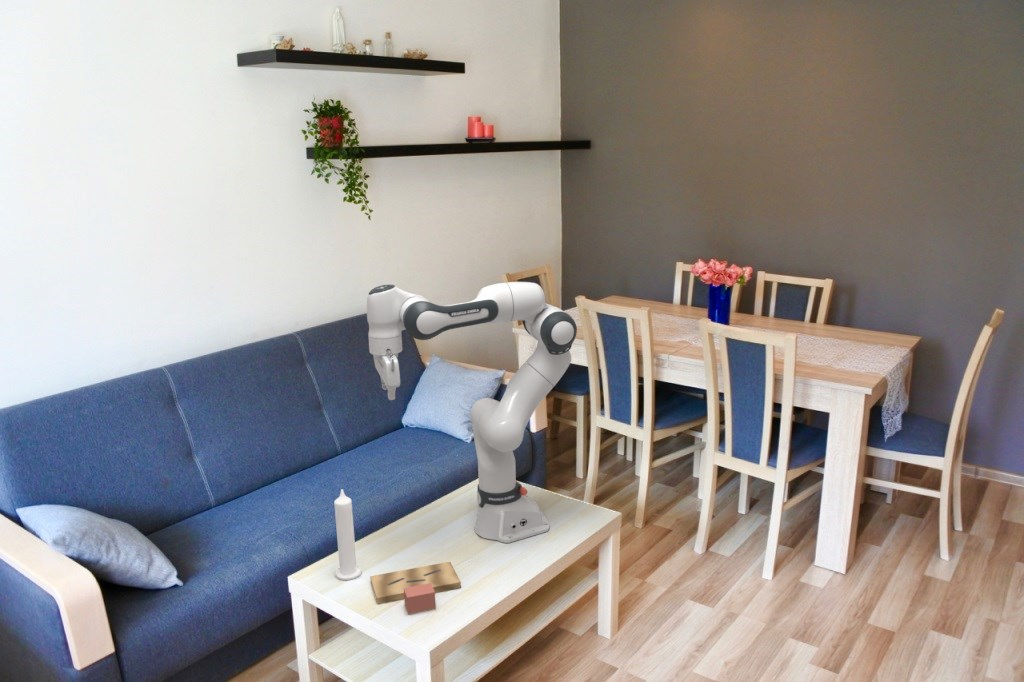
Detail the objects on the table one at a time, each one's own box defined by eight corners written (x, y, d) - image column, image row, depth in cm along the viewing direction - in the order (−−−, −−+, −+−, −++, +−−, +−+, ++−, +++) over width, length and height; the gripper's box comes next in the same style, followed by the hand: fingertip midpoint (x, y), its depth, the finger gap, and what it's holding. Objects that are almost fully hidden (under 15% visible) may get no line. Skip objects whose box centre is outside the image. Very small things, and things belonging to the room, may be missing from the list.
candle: (357, 564, 226) (350, 481, 220) (365, 576, 220) (359, 491, 214) (332, 571, 223) (325, 487, 216) (339, 583, 217) (332, 497, 210)
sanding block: (431, 600, 208) (430, 583, 207) (435, 609, 204) (434, 592, 203) (404, 605, 206) (403, 588, 205) (408, 615, 202) (407, 597, 201)
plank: (450, 567, 223) (450, 561, 223) (460, 587, 213) (460, 581, 213) (370, 582, 217) (370, 576, 216) (377, 604, 207) (376, 597, 206)
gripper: (404, 353, 210) (407, 404, 214) (390, 335, 229) (393, 382, 232) (380, 356, 208) (383, 407, 212) (368, 337, 227) (371, 384, 231)
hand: (388, 394), depth 222 cm, fingers open, 8 cm apart
